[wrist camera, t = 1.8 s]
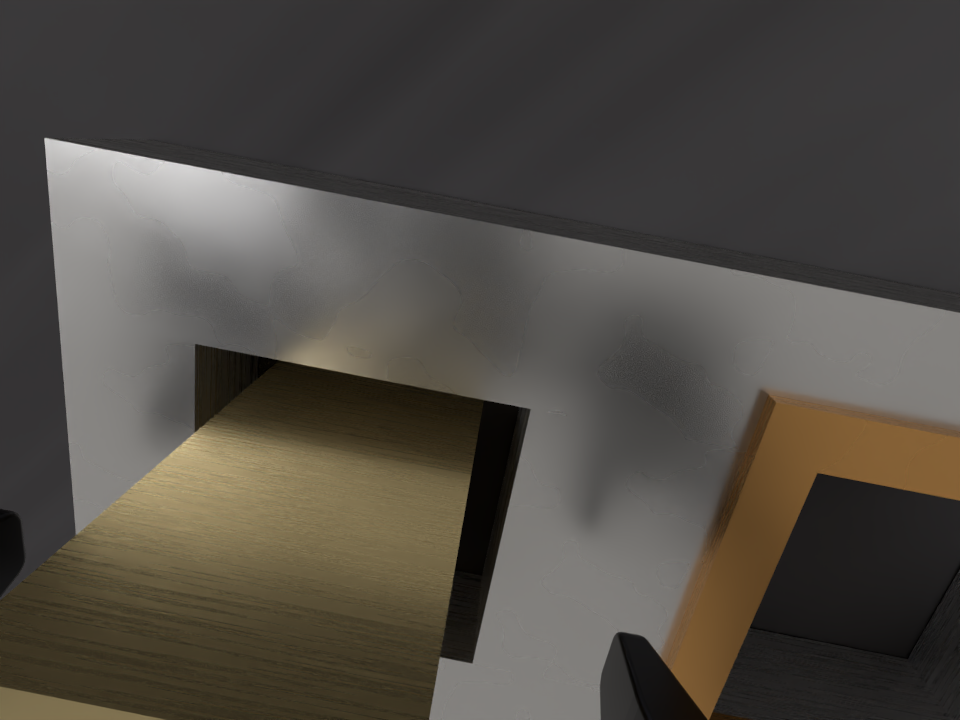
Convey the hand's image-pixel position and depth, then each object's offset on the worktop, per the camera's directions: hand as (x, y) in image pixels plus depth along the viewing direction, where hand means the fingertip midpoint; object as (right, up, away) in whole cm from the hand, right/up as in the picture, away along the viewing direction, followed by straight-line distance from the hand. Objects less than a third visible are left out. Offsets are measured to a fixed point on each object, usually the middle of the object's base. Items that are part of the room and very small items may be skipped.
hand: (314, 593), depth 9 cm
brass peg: (0, +2, +4) cm, 4 cm away
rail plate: (+5, +1, +4) cm, 7 cm away
